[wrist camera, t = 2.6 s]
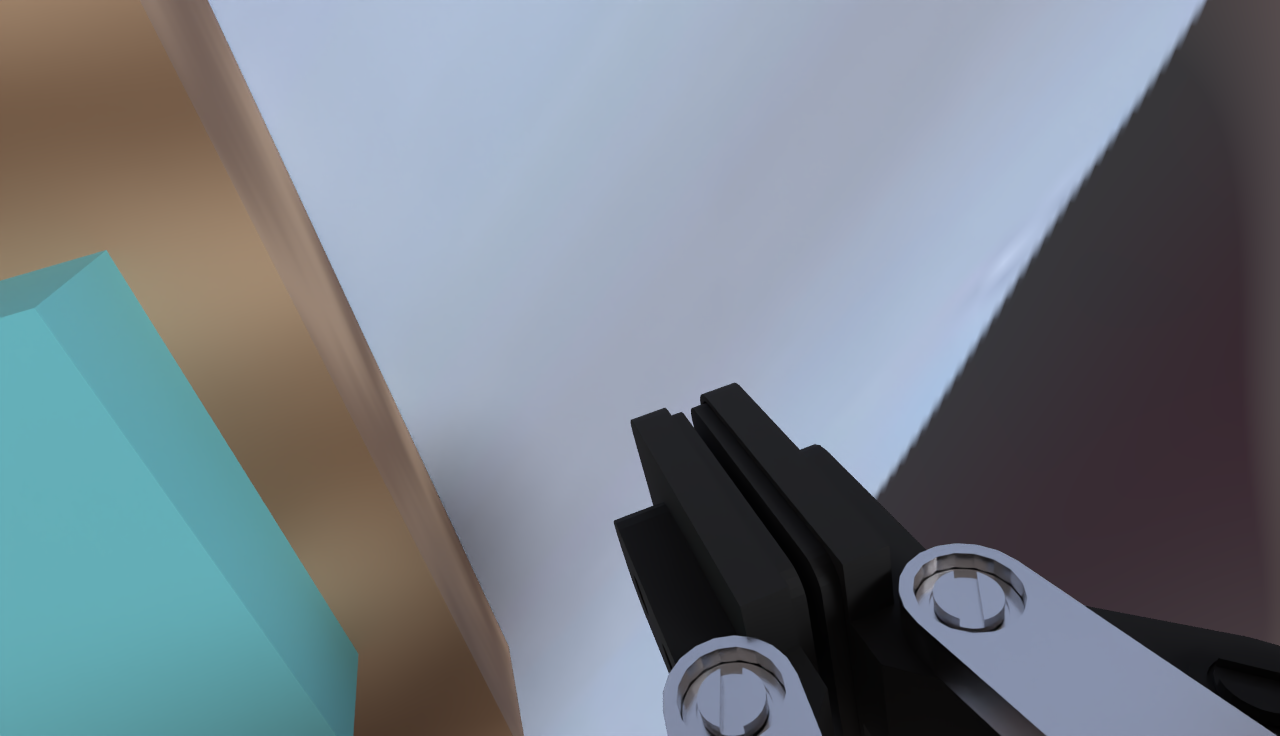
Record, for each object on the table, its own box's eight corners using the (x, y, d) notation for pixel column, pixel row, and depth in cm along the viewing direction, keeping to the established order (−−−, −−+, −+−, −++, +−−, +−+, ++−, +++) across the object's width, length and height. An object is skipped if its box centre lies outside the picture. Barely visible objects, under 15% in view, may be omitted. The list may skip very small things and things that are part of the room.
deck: (-796, 14, 10) (-1444, 14, 6) (125, -177, 12) (9, -256, 8) (81, 817, 20) (13, 989, 16) (508, 646, 21) (529, 768, 18)
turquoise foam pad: (-365, 386, 10) (-575, 488, 8) (105, 249, 11) (33, 307, 8) (50, 773, 14) (-9, 904, 12) (358, 653, 15) (352, 756, 13)
